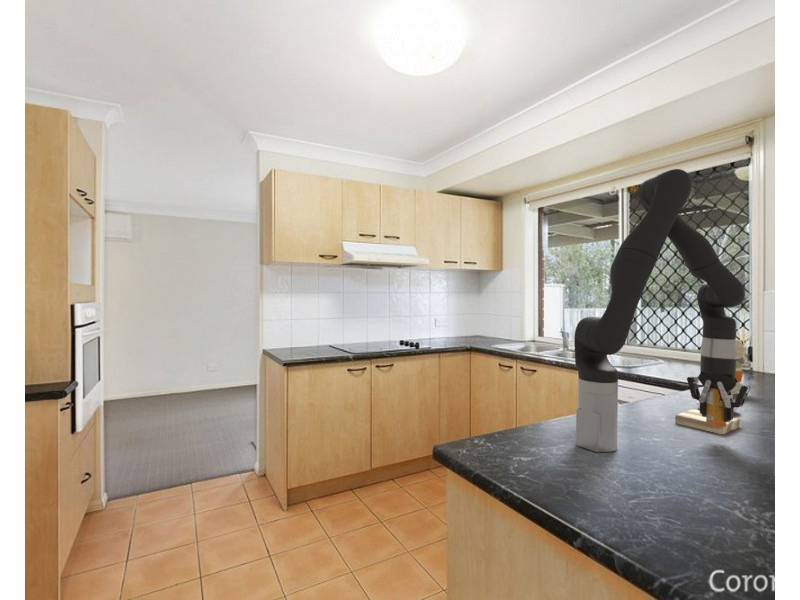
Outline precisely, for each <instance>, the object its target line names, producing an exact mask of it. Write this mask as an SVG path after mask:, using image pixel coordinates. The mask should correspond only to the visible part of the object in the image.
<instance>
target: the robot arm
mask: <svg viewBox="0 0 800 600" xmlns="http://www.w3.org/2000/svg"><path fill="white" fill-rule="evenodd" d="M638 187H639V188H638V190H637V197H638V201H639V203H640V204H641V206H642V208H643V209H644V210H645V212H646V213H645V215H644V217H642V219H641V220H640V221H639V223H638V224H637V225H636V226H635V227H634V228H633V229H632V230H631V232H630V233H629V234H628V235H627V237H625V239H624V240H623V241H622V243H621V245H620V246H619V248H618V250H617V253H616V254H615V256H614V259H613V261H612V263H611V267H610V273H609V274H610V287H611V296H610V299H609V302H608V304H607V307H606V309H605V310H604V312H603V314H602V316H601V317H600V316H586V317H583V318H582V319H581V320H579V322H578V323H577V325H576V327H575V330H574V336H573V337H574V363H575V367H576V370H577V372H578V379H577V380H578V381H577V382H578V387H577V393H578V394H577V408H576V409H575V411H576V412H575V414H576V417H575V418H576V419H575V425H576V426H575V445H576V446H578V447H581V448H584V449H586V450H589V451H592V452H595V453H611V452H612V453H613V452H615V451H618V424H619V423H618V419H619V417H618V416H619V415H618V413H619V412H618V409H619V408H618V407H619V371H618V369H617V368H616V367H615V366H613V364H612V363H611V362H610V361H609V358H608V356H611V355H615V354H617V353H619V352H620V351H621V349H622V348H623V347H624V346H625V343H626V341H627V339H628V337H629V333H630V330H631V327H632V323H633V320H634V316H635V313H636V310H637V307H638V305H639V303H640V300H641V299H642V298H641V297H642V295H643V292H644V290H645V288H646V285H647V283H648V280H649V279H650V277H651V275H652V273H653V272H654V271H653V270H654V268H655V266H656V263H657V261H658V259H659V257H660V253H661V251H662V249H663V247H664V245H665V242H666V240H667V238H668V239H669V241H670V242H671V243H672V244H673V246H674V247H675V249H676V250H677V253H678V254H679V255H680V257H681V258H682V261H683V262H684V264H685V265H686V267H687V270H688V272H690V274H691V275H692V277H693V278H694V279H698V280H702V281H704V283H702V284H701V285H700V287H699V289H698V290H697V295H696V296H697V297H696V300H697V304H698V305H697V306H698V309H699V312H700V317H701V319H702V339H701V345H700V363H699V364H700V369H699V370H700V372H699V374H698V376H688V377H686V380H687V385H688V388H689V392H690V396H691V398H692V399H694V400H696V401H697V400H698V401H699V402H700V407H699V410H700V414H702V416H703V417H706V398H707V396H708V391H709V389H710V388H713V389H718V390H719V394H721V396H722V399H723V400H724V402H725V406H726V407H725V408H724V421H725V422H730V420H733V417H734V415H735V414H734V413H735V412H734V408H735V407H738V408H739V407H743V406H744V404H745V402H746V401H747V398H748V395H749V393H750V390H751V386H750V385H748V384H744V383H743V384H742V383H741V382H740V383H738V381H737V379H736V357H737V347H736V340H737V321H736V319H734V318H733V317H731V316H728V315H727V314H726V311H725V308H735V307H738V306H739V305H741V304H742V303H743V301H744V300H745V294H746V292H745V288H744V285H743V284H742V282H741V281H740V280H739V279H738V278H737V277H736V275H734V274H733V273H732V272H731V271H730V269H729V268H728V267H726V266H725V265H724V264H723V262H722V261H721V259H720V258H719V256H718V254H717V252H716V251H715V249H714V247H713V245H712V244H711V242H710V241H709V239H707V237H705V236H704V235H703V234H702V233H701V232H700V231H698V230H696V229H695V228H694V227H692V226H691V225H690V224H688V222H686V221H685V220H684V219H683V218H682V217H681V216H680V213H681V211H682V209H683V208H684V207H685V204H686V203H687V201H688V199H689V197H690V195H691V192H692V179H691V177H690V175H689V174H688V172H687V171H685V170H683V169H681V168H673V169H669V170H665V171H663V172H661V173H658V174H657V175H654V176H652V177H650V178H648V179H646V180H644V181H643V182H642V183H641V184H640V185H639V186H638ZM735 339H736V340H735ZM611 364H612V365H611ZM699 383H700V384H701V385H702V386H703V388H702V390H701V392H700V390H699V386H698V384H699ZM735 386H736V387H737V391H738V394H737V395H736V399H735V401H734V399H733V398H734V395H732V392H731V390H732V389H733V388H734V387H735Z"/></svg>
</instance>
